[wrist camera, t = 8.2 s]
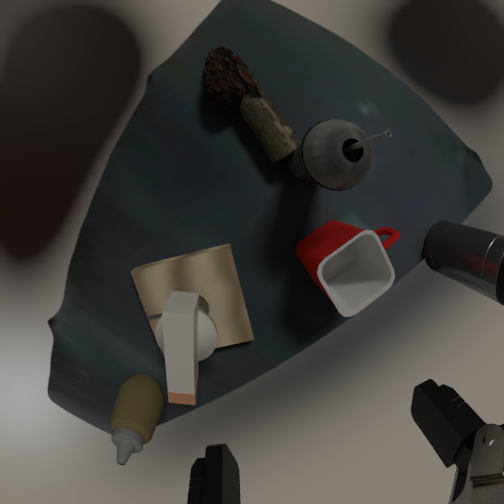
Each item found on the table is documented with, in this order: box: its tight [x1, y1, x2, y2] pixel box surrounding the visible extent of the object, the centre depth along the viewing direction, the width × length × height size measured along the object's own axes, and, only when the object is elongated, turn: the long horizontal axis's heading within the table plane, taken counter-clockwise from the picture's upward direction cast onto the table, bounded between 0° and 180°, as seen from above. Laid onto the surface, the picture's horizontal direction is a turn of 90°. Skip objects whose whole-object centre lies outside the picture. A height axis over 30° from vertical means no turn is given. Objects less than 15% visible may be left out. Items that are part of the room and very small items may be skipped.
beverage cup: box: [289, 119, 391, 191], centre depth 26 cm, size 7×7×20 cm
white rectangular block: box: [155, 291, 217, 405], centre depth 27 cm, size 11×7×6 cm, turn 175°
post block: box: [131, 244, 254, 357], centre depth 35 cm, size 14×14×9 cm
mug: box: [296, 220, 400, 317], centre depth 34 cm, size 12×8×11 cm
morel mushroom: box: [203, 46, 301, 164], centre depth 31 cm, size 18×7×6 cm, turn 33°
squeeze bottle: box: [110, 374, 164, 465], centre depth 33 cm, size 8×8×18 cm
